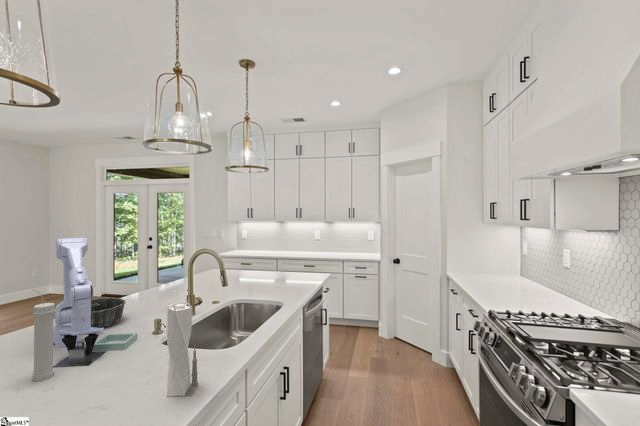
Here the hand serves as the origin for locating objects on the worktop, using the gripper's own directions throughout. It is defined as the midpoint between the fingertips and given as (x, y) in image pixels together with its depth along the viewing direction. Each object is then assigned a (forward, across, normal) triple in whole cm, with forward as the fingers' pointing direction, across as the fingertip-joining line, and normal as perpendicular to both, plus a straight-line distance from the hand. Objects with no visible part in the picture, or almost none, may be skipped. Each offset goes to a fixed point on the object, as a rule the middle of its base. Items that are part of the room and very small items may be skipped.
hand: (80, 355), depth 115 cm
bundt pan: (+3, -18, +42) cm, 46 cm away
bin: (+2, +6, +12) cm, 14 cm away
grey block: (+1, 0, 0) cm, 1 cm away
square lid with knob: (+2, 0, 0) cm, 2 cm away
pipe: (+3, -4, -13) cm, 14 cm away
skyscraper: (+3, +42, -25) cm, 49 cm away
